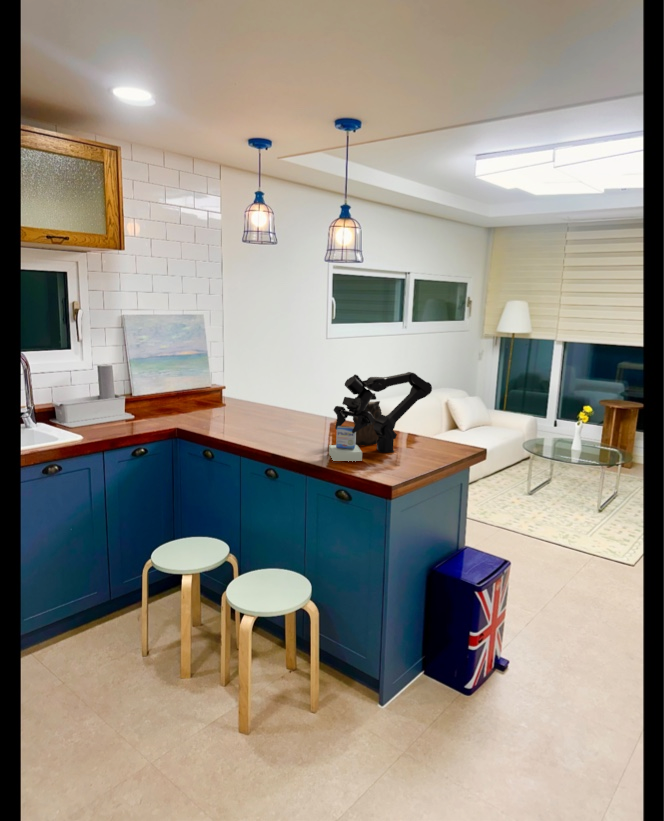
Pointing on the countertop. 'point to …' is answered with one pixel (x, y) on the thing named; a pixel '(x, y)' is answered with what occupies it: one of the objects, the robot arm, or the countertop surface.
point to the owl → (368, 426)
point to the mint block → (345, 453)
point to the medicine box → (345, 437)
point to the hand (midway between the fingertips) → (344, 430)
